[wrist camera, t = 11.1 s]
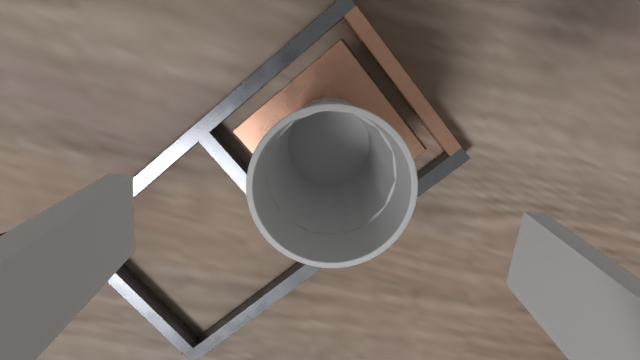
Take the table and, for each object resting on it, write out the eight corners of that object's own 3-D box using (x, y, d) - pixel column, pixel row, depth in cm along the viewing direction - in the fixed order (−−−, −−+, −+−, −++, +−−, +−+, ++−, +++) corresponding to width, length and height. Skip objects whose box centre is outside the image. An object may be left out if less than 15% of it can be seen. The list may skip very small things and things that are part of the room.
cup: (394, 97, 31) (437, 122, 19) (370, 202, 33) (395, 281, 21) (283, 75, 30) (259, 88, 19) (266, 183, 33) (235, 253, 21)
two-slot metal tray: (197, 351, 37) (192, 363, 35) (74, 231, 34) (63, 239, 33) (463, 153, 32) (469, 158, 31) (345, -5, 29) (346, -8, 28)
